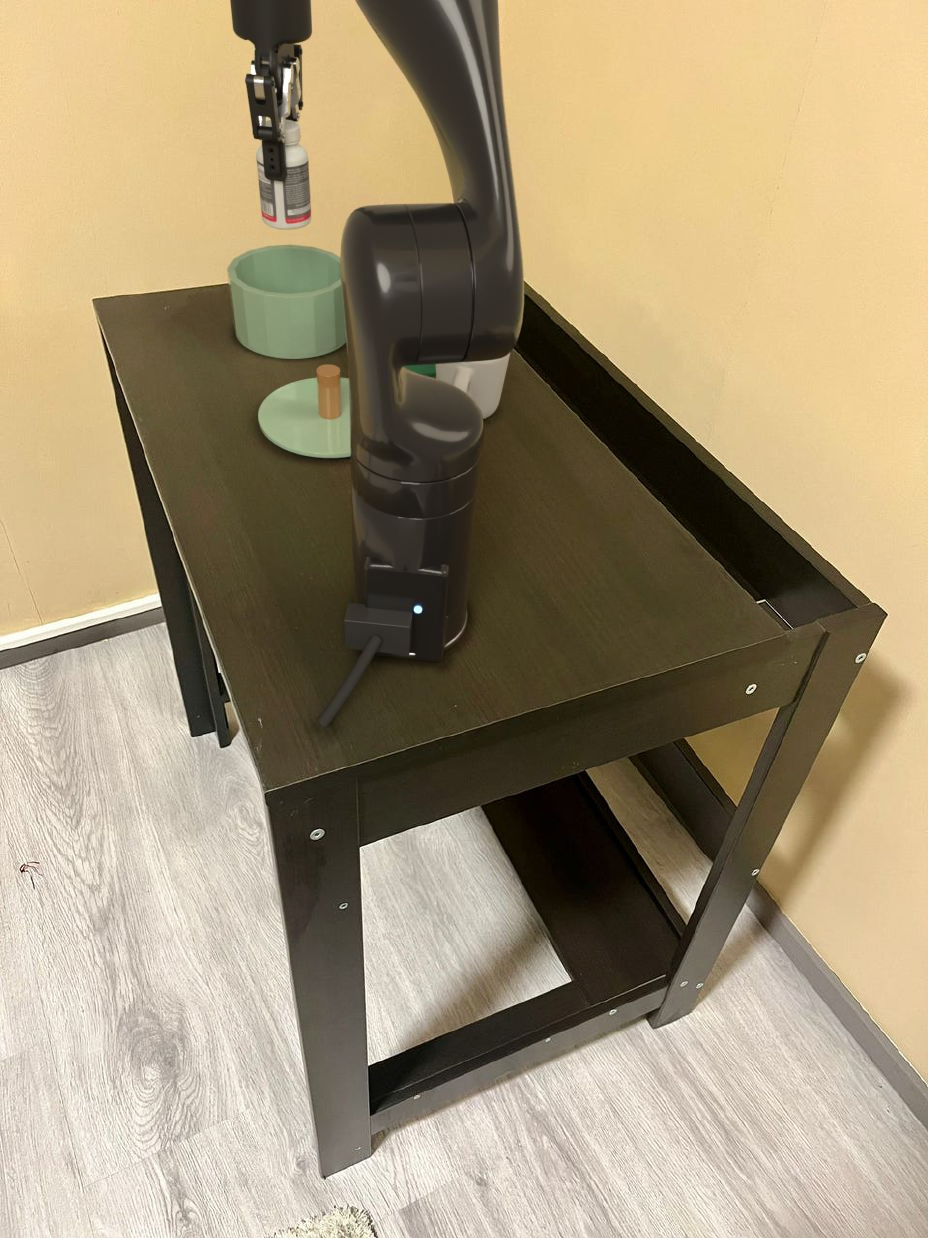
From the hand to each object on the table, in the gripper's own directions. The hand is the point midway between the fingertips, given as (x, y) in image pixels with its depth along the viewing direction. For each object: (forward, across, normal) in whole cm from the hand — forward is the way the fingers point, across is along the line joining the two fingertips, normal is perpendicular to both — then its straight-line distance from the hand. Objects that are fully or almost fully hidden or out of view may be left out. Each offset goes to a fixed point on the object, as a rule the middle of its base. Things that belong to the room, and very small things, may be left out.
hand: (282, 168), depth 96 cm
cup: (+19, -15, -22) cm, 32 cm away
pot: (+18, 0, 0) cm, 18 cm away
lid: (+18, -19, -8) cm, 27 cm away
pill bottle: (+6, 0, 0) cm, 6 cm away
